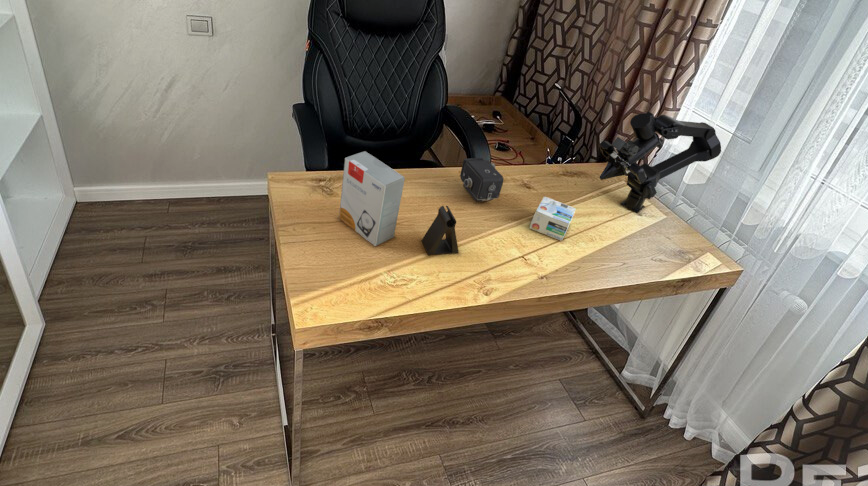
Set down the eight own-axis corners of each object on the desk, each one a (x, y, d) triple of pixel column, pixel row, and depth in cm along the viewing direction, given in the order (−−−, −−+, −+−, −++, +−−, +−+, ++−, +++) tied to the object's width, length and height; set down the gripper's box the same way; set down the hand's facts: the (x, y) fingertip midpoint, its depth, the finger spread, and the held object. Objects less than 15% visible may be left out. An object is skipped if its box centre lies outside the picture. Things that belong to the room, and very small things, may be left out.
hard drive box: (337, 218, 143) (343, 156, 132) (358, 210, 148) (365, 149, 137) (375, 247, 136) (384, 184, 124) (395, 237, 141) (406, 176, 130)
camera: (499, 207, 164) (478, 179, 174) (511, 180, 157) (488, 151, 167) (471, 211, 160) (450, 181, 170) (481, 182, 153) (460, 153, 162)
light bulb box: (576, 207, 157) (570, 224, 149) (569, 225, 161) (562, 242, 152) (543, 195, 160) (535, 210, 151) (536, 213, 164) (528, 228, 155)
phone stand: (427, 255, 137) (435, 219, 130) (421, 241, 141) (428, 205, 135) (458, 253, 140) (468, 218, 133) (451, 239, 144) (460, 205, 137)
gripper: (614, 117, 162) (574, 149, 164) (655, 145, 148) (612, 180, 150) (623, 138, 170) (585, 169, 172) (663, 167, 156) (621, 200, 158)
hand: (600, 178), depth 163 cm, fingers closed
